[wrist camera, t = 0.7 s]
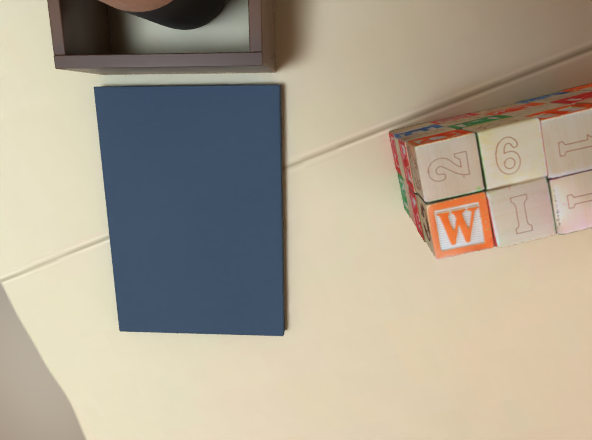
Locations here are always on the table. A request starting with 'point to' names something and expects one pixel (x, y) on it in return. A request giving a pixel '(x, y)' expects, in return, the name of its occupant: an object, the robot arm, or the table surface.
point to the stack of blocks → (499, 173)
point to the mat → (195, 207)
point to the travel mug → (171, 11)
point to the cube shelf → (98, 59)
